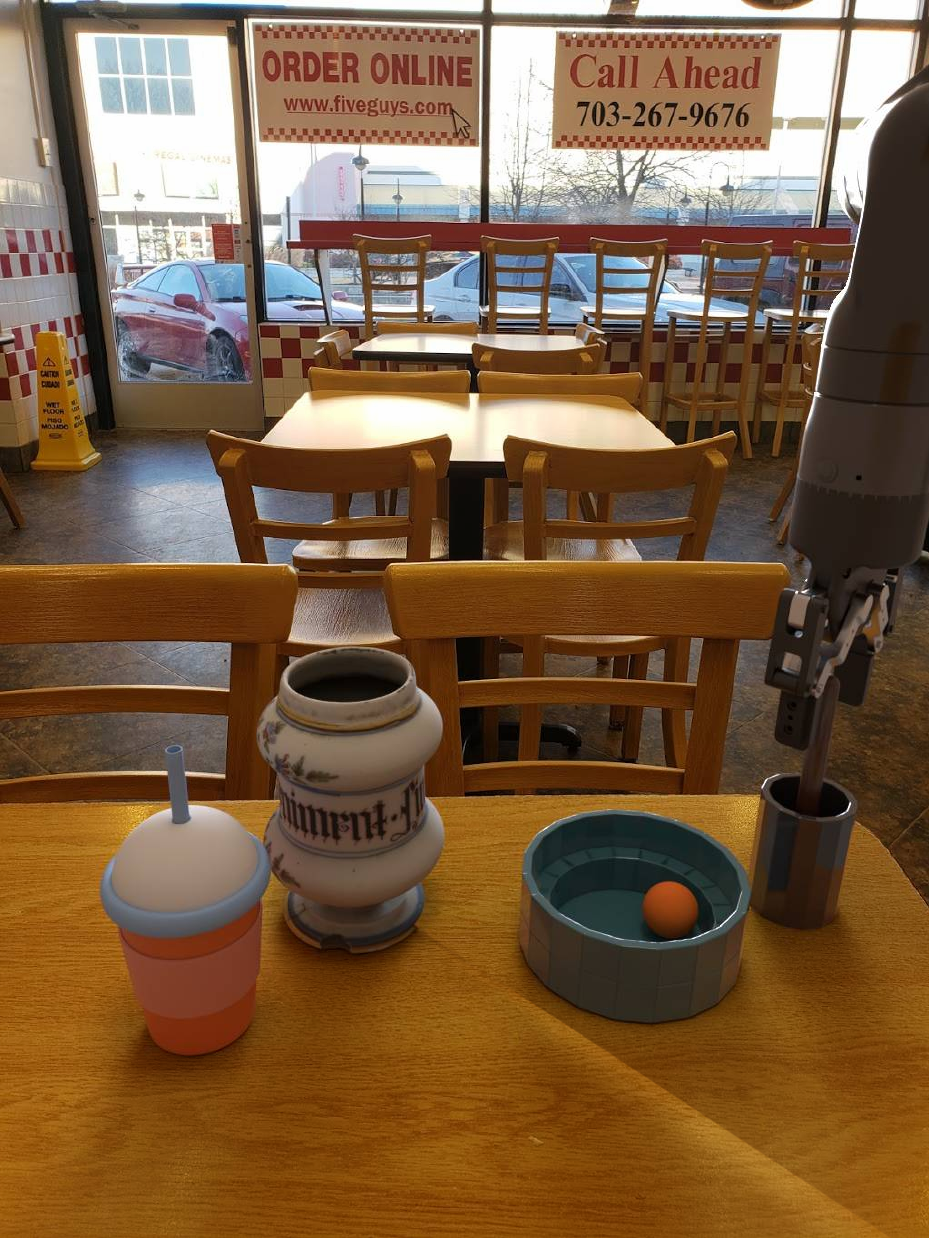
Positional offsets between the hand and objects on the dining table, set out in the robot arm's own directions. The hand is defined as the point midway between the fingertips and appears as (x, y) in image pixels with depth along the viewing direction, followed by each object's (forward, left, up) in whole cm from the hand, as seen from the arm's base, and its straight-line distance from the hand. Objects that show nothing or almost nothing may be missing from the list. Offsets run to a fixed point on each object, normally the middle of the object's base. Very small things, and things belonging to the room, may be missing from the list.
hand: (821, 722), depth 61 cm
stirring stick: (0, 0, -14) cm, 14 cm away
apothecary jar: (+21, -22, -15) cm, 34 cm away
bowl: (+11, -6, -15) cm, 19 cm away
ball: (+9, -4, -12) cm, 16 cm away
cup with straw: (+34, -21, -15) cm, 43 cm away
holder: (0, 0, -15) cm, 15 cm away
